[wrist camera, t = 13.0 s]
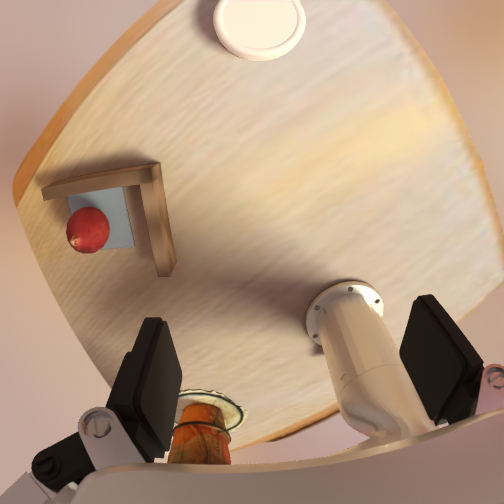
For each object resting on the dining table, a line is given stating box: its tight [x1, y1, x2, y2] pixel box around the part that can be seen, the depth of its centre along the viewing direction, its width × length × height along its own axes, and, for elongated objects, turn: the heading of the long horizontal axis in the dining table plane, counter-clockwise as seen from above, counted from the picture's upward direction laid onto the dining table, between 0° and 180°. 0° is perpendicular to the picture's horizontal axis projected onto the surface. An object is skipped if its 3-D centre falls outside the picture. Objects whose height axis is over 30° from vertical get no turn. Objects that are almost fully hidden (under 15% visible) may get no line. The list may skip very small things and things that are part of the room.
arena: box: [41, 163, 176, 277], centre depth 36 cm, size 14×16×4 cm
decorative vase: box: [167, 390, 247, 465], centre depth 44 cm, size 21×23×28 cm
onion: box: [66, 206, 110, 253], centre depth 34 cm, size 6×6×8 cm
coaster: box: [213, 0, 306, 61], centre depth 27 cm, size 10×10×4 cm
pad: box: [67, 187, 135, 250], centre depth 38 cm, size 9×9×1 cm
